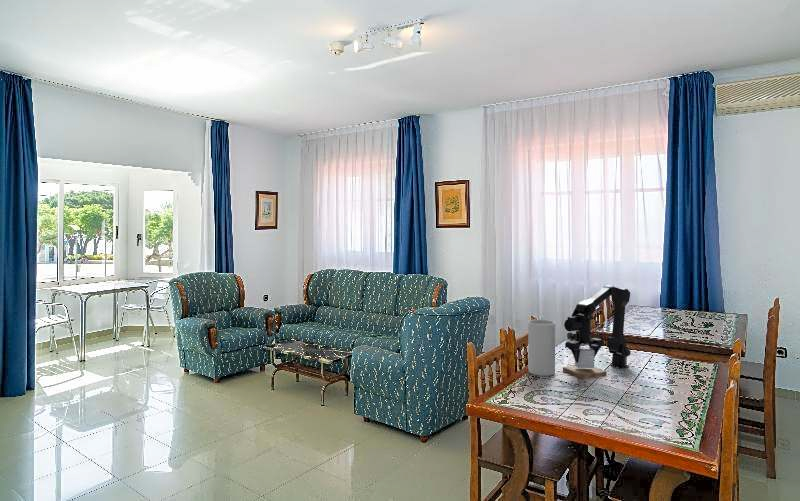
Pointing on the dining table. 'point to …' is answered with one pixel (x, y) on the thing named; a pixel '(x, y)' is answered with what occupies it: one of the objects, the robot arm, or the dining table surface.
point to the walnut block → (584, 372)
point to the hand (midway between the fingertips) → (584, 361)
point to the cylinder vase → (541, 347)
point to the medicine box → (585, 358)
